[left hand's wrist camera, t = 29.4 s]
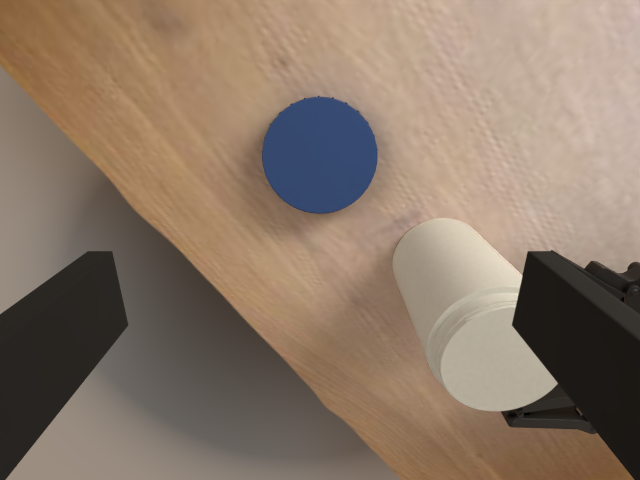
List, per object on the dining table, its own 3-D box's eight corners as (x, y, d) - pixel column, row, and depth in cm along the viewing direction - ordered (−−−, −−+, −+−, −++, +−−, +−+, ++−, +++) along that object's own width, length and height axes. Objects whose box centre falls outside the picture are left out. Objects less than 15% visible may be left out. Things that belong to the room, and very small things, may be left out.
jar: (500, 270, 42) (601, 375, 27) (421, 315, 44) (474, 436, 29) (456, 199, 39) (543, 272, 24) (374, 251, 41) (406, 348, 26)
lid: (396, 167, 38) (400, 171, 36) (307, 227, 40) (307, 234, 38) (333, 70, 35) (334, 70, 33) (241, 142, 37) (237, 145, 35)
